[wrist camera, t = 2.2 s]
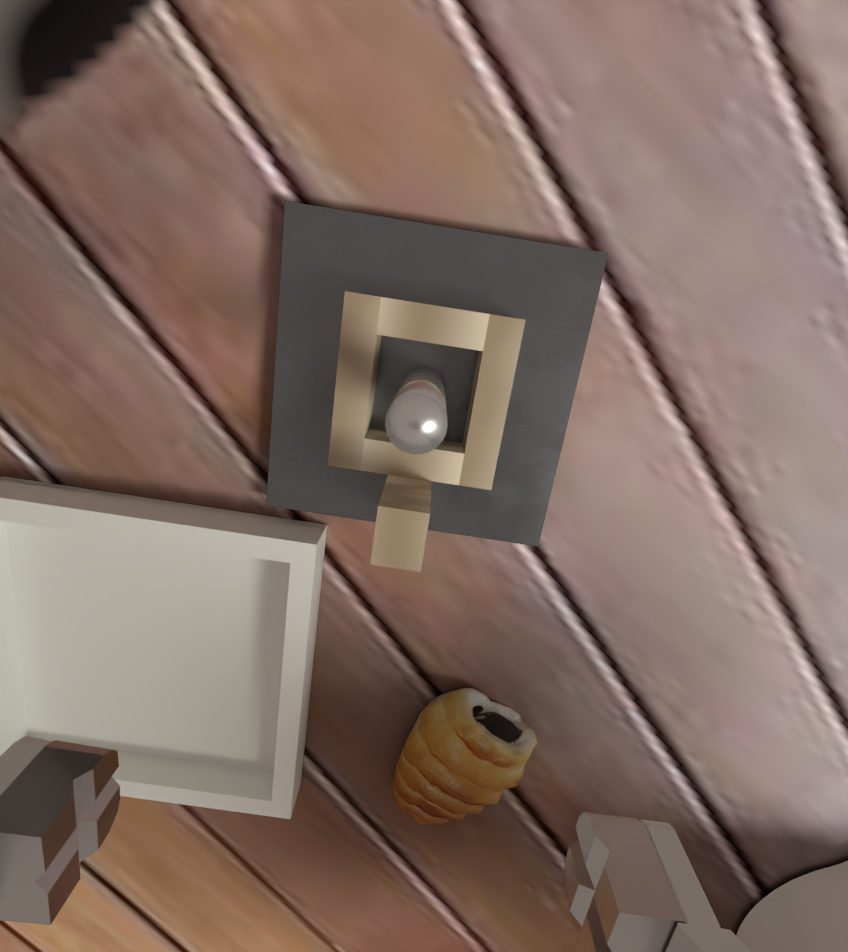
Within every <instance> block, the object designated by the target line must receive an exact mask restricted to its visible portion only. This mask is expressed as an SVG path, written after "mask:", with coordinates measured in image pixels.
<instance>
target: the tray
mask: <svg viewBox="0 0 848 952" xmlns="http://www.w3.org/2000/svg"><path fill="white" fill-rule="evenodd" d="M326 532H327V525H326V524H320V523H313V522H306V521H299V520H293V519H286V518H279V517H273V516H266V515H259V514H253V513H246V512H239V511H232V510H226V509H219V508H212V507H206V506H199V505H192V504H186V503H179V502H172V501H166V500H159V499H152V498H145V497H139V496H132V495H125V494H119V493H112V492H105V491H99V490H92V489H85V488H79V487H72V486H65V485H58V484H52V483H45V482H38V481H32V480H25V479H18V478H12V477H5V476H0V756H1V755H2V754H3V753H4V752H5V751H6V750H7V749H8V748H9V747H10V746H11V745H12V744H13V743H14V742H16V741H18V740H20V739H22V738H23V737H25V736H30V737H36V738H43V739H49V740H57V741H63V742H69V743H76V744H82V745H88V746H94V747H100V748H106V749H112V750H116V751H118V760H119V767H118V768H117V770H116V771H115V773H114V774H113V775H112V777H113V778H114V779H115V781H116V782H117V783H118V784H119V785H120V796H125V797H132V798H140V799H147V800H154V801H161V802H169V803H176V804H183V805H190V806H198V807H205V808H212V809H219V810H227V811H234V812H241V813H248V814H256V815H263V816H270V817H277V818H285V819H291V816H292V812H293V809H294V805H295V802H296V799H297V795H298V792H299V788H300V785H301V779H302V770H303V760H304V750H305V740H306V730H307V720H308V710H309V700H310V690H311V681H312V671H313V661H314V651H315V641H316V631H317V621H318V611H319V601H320V592H321V582H322V572H323V562H324V552H325V542H326Z"/></svg>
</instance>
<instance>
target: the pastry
mask: <svg viewBox="0 0 848 952" xmlns="http://www.w3.org/2000/svg"><path fill="white" fill-rule="evenodd" d="M536 745H537V738H536V735H535V732H534V730H533V729H532V728H531V727H530V726H528V725H527V724H526V722H525V721H524V720H522V719H521V718H520V715H519V714H518V713H517V712H515V711H514V710H513V709H511V708H510V707H506V706H504V705H502V704H499V703H496V702H492V701H490V700H489V699H488V697H486V696H485V695H484V694H482V693H481V692H479V691H477V690H475V689H473V688H463V689H458V690H455V691H450V692H447V693H444V694H442V695H440V696H438V697H436V698H434V699H432V700H431V701H430V703H429V704H428V705H427V706H426V707H425V708H424V710H423V711H422V712H420V714H419V717H418V719H417V721H416V722H415V724H414V726H413V728H412V730H411V732H410V733H409V735H408V737H407V739H406V742H405V745H404V747H403V750H402V752H401V755H400V758H399V760H398V762H397V765H396V769H395V775H394V780H393V784H392V787H393V793H394V798H395V801H396V802H397V804H398V806H399V807H400V808H401V809H402V810H404V811H405V812H406V813H408V814H409V815H411V816H413V818H414V819H415V820H416V821H417V822H418V823H419V824H421V825H422V824H424V825H425V824H430V825H439V824H443V823H445V822H449V821H451V820H456V821H460V820H461V819H463V818H464V817H465V815H466V814H468V813H470V814H475V815H477V814H479V813H480V812H481V811H482V809H483V808H484V806H485V805H494V804H496V803H498V802H499V800H500V799H501V796H502V792H503V790H504V789H507V788H514V787H516V786H517V785H518V784H519V782H520V780H521V779H522V777H523V775H524V769H525V765H526V762H527V760H528V759H529V758H530V755H531V753H532V750H533V749H534V748H535V747H536Z"/></svg>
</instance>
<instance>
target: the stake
mask: <svg viewBox="0 0 848 952" xmlns="http://www.w3.org/2000/svg"><path fill="white" fill-rule="evenodd" d="M607 256H608V253H604V252H598V251H592V250H586V249H580V248H573V247H567V246H561V245H555V244H549V243H542V242H536V241H530V240H524V239H518V238H512V237H505V236H499V235H493V234H487V233H481V232H474V231H468V230H462V229H456V228H450V227H443V226H437V225H431V224H425V223H419V222H412V221H406V220H400V219H394V218H388V217H382V216H375V215H369V214H363V213H357V212H351V211H344V210H338V209H332V208H326V207H320V206H313V205H307V204H301V203H295V202H289V201H285V209H284V225H283V241H282V257H281V274H280V290H279V306H278V323H277V339H276V355H275V372H274V388H273V404H272V421H271V437H270V453H269V470H268V486H267V502H266V506H273V507H279V508H286V509H293V510H299V511H306V512H313V513H319V514H326V515H333V516H339V517H346V518H353V519H359V520H366V521H373V522H376V518H377V510H378V504H379V501H380V498H381V495H382V492H383V489H384V485H385V482H386V479H387V476H388V474H381V473H374V472H368V471H361V470H355V469H348V468H341V467H335V466H328V457H329V447H330V437H331V427H332V416H333V406H334V396H335V386H336V376H337V365H338V355H339V345H340V335H341V324H342V314H343V304H344V294H345V291H347V292H353V293H360V294H366V295H372V296H379V297H385V298H391V299H398V300H404V301H410V302H417V303H423V304H429V305H435V306H442V307H448V308H454V309H461V310H467V311H473V312H480V313H486V314H492V315H499V316H505V317H511V318H517V319H524V320H526V321H525V326H524V331H523V336H522V341H521V346H520V350H519V355H518V360H517V365H516V370H515V375H514V380H513V385H512V390H511V395H510V400H509V405H508V410H507V415H506V420H505V425H504V430H503V435H502V440H501V445H500V450H499V455H498V460H497V465H496V469H495V474H494V479H493V484H492V489H491V490H486V489H480V488H473V487H467V486H460V485H453V484H447V483H440V482H434V481H432V483H431V507H430V518H429V524H428V530H433V531H440V532H446V533H453V534H460V535H466V536H473V537H480V538H486V539H493V540H500V541H506V542H513V543H520V544H526V545H533V546H538V544H539V540H540V536H541V532H542V528H543V524H544V519H545V515H546V511H547V507H548V503H549V498H550V494H551V490H552V486H553V482H554V478H555V473H556V469H557V465H558V461H559V457H560V452H561V448H562V444H563V440H564V436H565V432H566V427H567V423H568V419H569V415H570V411H571V407H572V402H573V398H574V394H575V390H576V386H577V381H578V377H579V373H580V369H581V365H582V361H583V356H584V352H585V348H586V344H587V340H588V336H589V331H590V327H591V323H592V319H593V315H594V310H595V306H596V302H597V298H598V294H599V290H600V285H601V281H602V277H603V273H604V269H605V264H606V260H607ZM478 353H479V351H478V350H472V349H466V348H459V347H453V346H447V345H440V344H434V343H428V342H421V341H415V340H408V339H402V338H396V337H389V336H383V335H381V343H380V351H379V360H378V368H377V376H376V384H375V393H374V401H373V409H372V417H371V426H370V429H374V430H380V431H386V432H387V435H388V437H389V439H390V441H391V442H392V443H393V444H394V446H396V447H397V448H398V449H400V450H401V451H403V452H406V453H409V454H415V455H417V454H425V453H428V452H430V451H432V450H434V449H435V448H436V447H438V446H439V445H440V444H441V442H442V441H443V440H446V441H452V442H459V443H463V437H464V432H465V426H466V420H467V415H468V409H469V403H470V398H471V392H472V387H473V381H474V375H475V370H476V364H477V359H478Z"/></svg>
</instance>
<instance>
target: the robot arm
mask: <svg viewBox="0 0 848 952" xmlns="http://www.w3.org/2000/svg"><path fill="white" fill-rule="evenodd" d="M118 767H119V760H118V751H116V750H112V749H106V748H100V747H94V746H88V745H82V744H76V743H69V742H63V741H57V740H49V739H43V738H36V737H30V736H25V737H23V738H22V739H20V740H18V741H16V742H14V743H13V744H12V745H11V746H10V747H9V748H8V749H7V750H6V751H5V752H4V753H3V754H2V755H1V756H0V920H2V921H13V922H24V923H35V924H46V925H51V924H52V922H53V920H54V919H55V917H56V916H57V914H58V913H59V911H60V909H61V908H62V906H63V905H64V903H65V902H66V900H67V898H68V897H69V895H70V894H71V892H72V890H73V889H74V887H75V886H76V884H77V883H78V881H79V879H80V862H81V861H83V860H84V859H86V858H87V857H88V856H90V855H91V854H93V853H94V852H96V851H97V850H98V849H99V848H100V846H101V844H102V843H103V841H104V839H105V838H106V836H107V834H108V833H109V831H110V828H111V826H112V824H113V821H114V819H115V816H116V814H117V811H118V806H119V800H120V785H119V784H118V783H117V782H116V781H115V779H114V778H113V777H112V775H113V774H114V773H115V771H116V770H117V768H118ZM576 831H577V835H578V840H577V841H575V842H574V843H572V844H571V845H570V846H569V849H568V852H567V856H566V860H565V887H566V895H567V900H568V904H569V909H570V912H571V913H572V914H573V916H574V917H575V918H576V920H577V921H578V922H579V923H580V925H581V926H582V929H581V932H580V935H579V937H578V940H577V945H578V949H579V952H848V861H845V862H843V863H840V864H837V865H834V866H831V867H827V868H824V869H820V870H817V871H814V872H811V873H808V874H805V875H803V876H800V877H798V878H796V879H793V880H791V881H789V882H787V883H785V884H784V885H782V886H780V887H779V888H777V889H775V890H774V891H772V892H771V893H770V894H768V895H767V896H766V897H764V898H763V899H762V900H761V901H760V902H759V903H757V904H756V905H755V906H754V907H753V909H752V910H751V911H750V912H749V913H748V915H747V916H746V917H745V919H744V920H743V922H742V924H741V925H740V927H739V930H738V932H737V935H735V934H734V933H733V932H732V931H731V930H729V929H723V928H721V927H720V925H719V923H718V921H717V919H716V916H715V914H714V912H713V910H712V908H711V906H710V904H709V902H708V899H707V897H706V895H705V893H704V891H703V889H702V887H701V885H700V882H699V880H698V878H697V876H696V874H695V872H694V870H693V868H692V865H691V863H690V861H689V859H688V857H687V855H686V853H685V851H684V849H683V846H682V844H681V842H680V840H679V838H678V836H677V834H676V832H675V829H674V828H673V827H672V826H671V825H670V824H669V823H665V822H657V821H650V820H642V819H639V820H638V819H637V818H631V817H622V816H614V815H606V814H597V813H589V812H583V813H582V814H581V815H580V816H579V818H578V821H577V824H576Z"/></svg>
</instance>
